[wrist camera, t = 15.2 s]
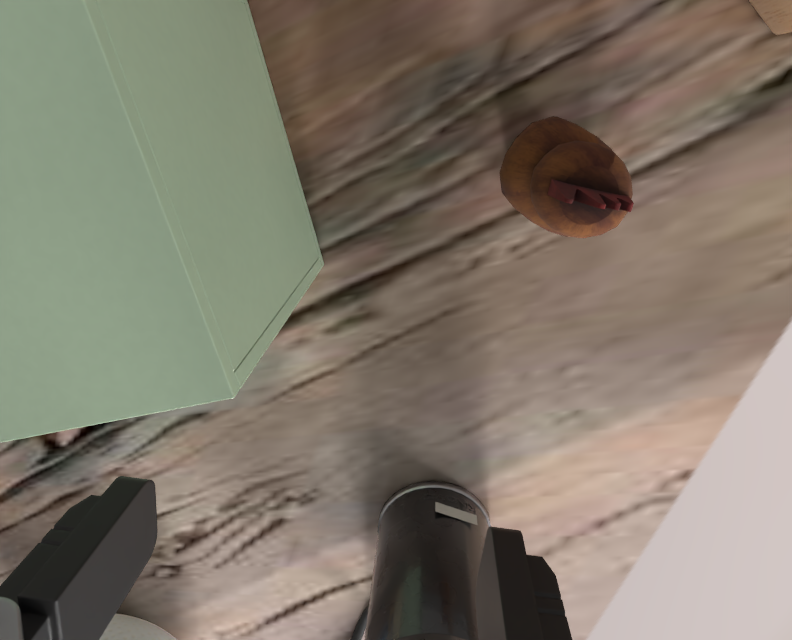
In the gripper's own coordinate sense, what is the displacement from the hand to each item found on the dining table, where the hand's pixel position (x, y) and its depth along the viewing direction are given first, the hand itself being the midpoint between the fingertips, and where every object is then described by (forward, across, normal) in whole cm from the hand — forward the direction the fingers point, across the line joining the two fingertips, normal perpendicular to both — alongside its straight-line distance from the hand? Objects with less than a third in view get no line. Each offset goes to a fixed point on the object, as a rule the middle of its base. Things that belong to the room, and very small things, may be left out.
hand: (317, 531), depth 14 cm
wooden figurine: (+28, -9, -6) cm, 30 cm away
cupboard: (+28, +13, -4) cm, 31 cm away
